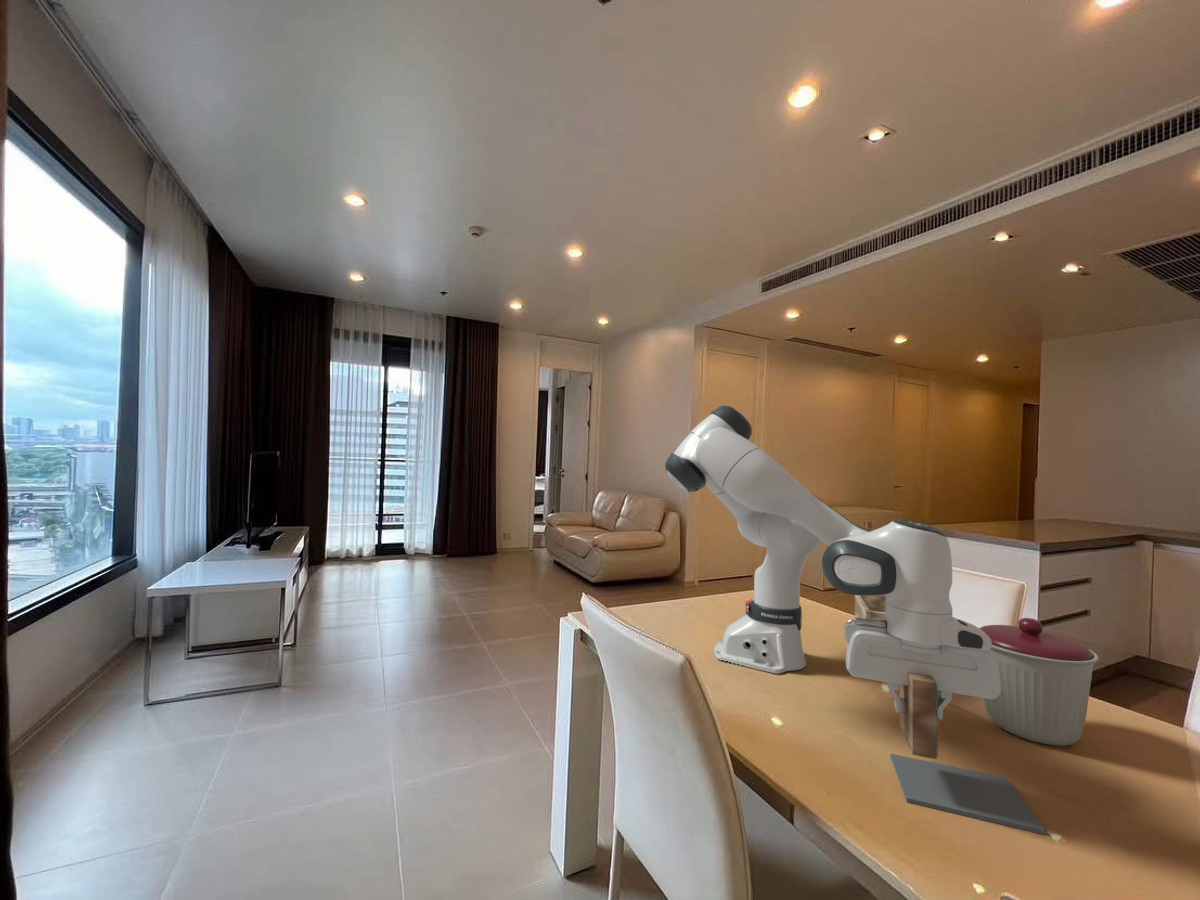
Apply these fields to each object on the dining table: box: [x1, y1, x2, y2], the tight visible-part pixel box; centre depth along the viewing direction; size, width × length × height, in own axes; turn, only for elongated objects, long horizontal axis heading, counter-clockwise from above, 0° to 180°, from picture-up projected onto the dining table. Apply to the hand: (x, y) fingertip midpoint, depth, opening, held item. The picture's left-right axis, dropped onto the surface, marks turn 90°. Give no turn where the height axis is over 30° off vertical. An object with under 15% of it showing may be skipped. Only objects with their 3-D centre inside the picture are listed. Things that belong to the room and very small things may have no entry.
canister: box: [978, 617, 1099, 747], centre depth 92 cm, size 18×18×21 cm
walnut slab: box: [899, 672, 939, 760], centre depth 75 cm, size 3×9×11 cm, turn 158°
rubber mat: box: [889, 753, 1046, 835], centre depth 73 cm, size 16×12×1 cm
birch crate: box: [854, 595, 886, 629], centre depth 134 cm, size 12×22×12 cm, turn 159°
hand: (917, 714), depth 75 cm, fingers closed on walnut slab, 3 cm apart
